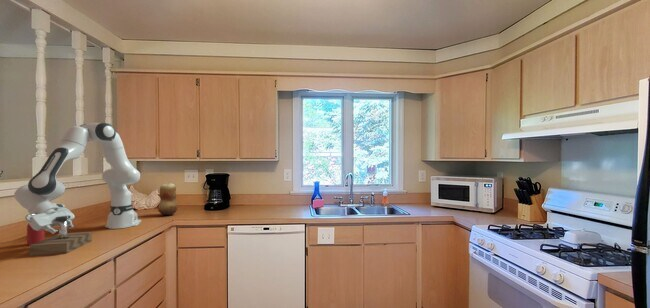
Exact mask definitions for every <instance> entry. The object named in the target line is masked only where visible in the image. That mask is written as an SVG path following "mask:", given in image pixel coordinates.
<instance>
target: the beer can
mask: <svg viewBox="0 0 650 308" xmlns="http://www.w3.org/2000/svg"><path fill="white" fill-rule="evenodd" d="M45 231H46V230H44V229H42V230H39V231H36V230H34V229H33V228H32V227H31V226H30V225H29V223H28V222H27V225H26V245H27V246H30V245H32V244H34V243H37V242H39V241H42V240H45V239H46V238H45Z"/></svg>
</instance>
